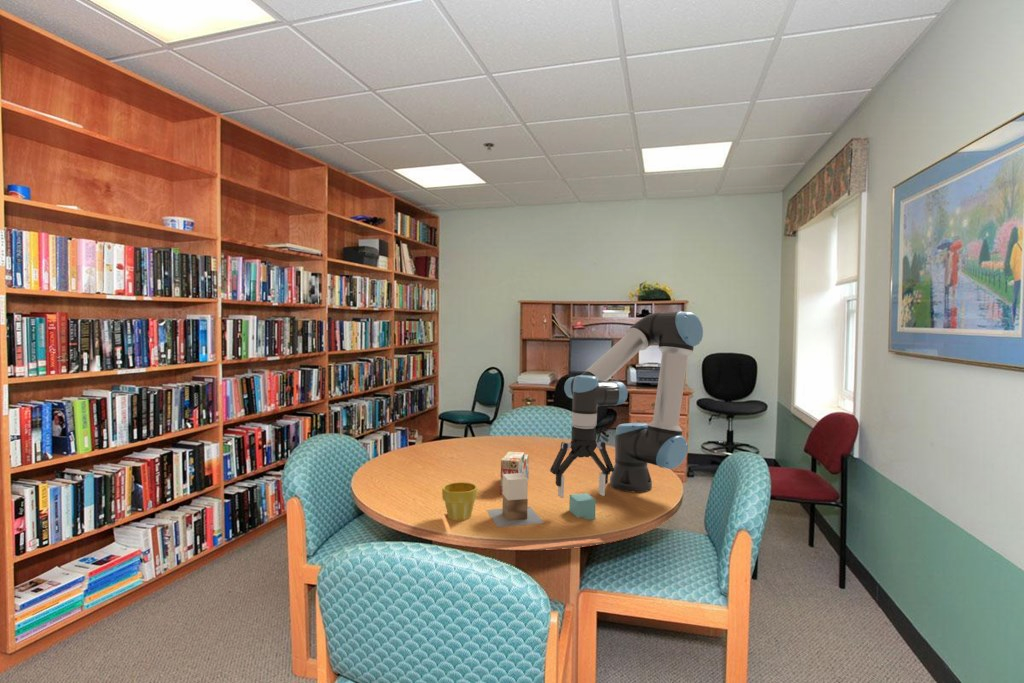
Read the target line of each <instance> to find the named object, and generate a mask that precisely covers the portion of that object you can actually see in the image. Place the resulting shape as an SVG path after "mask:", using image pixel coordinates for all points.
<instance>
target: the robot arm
mask: <svg viewBox="0 0 1024 683" xmlns="http://www.w3.org/2000/svg"><path fill="white" fill-rule="evenodd" d="M703 328H704V327H703V323H702V321H700V318H699V317H698V316H697V315H696V314H695V313H694V312H690V311H682V310H681V311H668V312H667V311H664V312H663V311H660V312H659V311H656V312H653V313H650V314H648V315H646V316H644V317H642V318H641V319H639V320H638V321H636V322H634V324H633V325H631V326H630V327H629V328H628V329H627V330H626V331H625V335H624V336H623V337H622V338H620V340H618V341H617V342H616V343H615V344H614V345H613V346H612V347H610V348H609V350H608V349H607V351H606V352H605V353H604V354H603V355H602V356H600V358H598V359H597V360H596V361H595V362H594V363H593V364H591V366H589V367H588V368H587V369H586V370H584V372H582V373H581V374H580V375H576V376H570V377H569V378H568V379H566V381H565V382H564V387H563V388H564V389H563V390H564V393H565V395H566V397H567V398H570V399H572V410H571V411H572V412H571V414H572V415H571V424H572V426H571V435H570V436H571V437H570V438H571V440H570V442H565V441H562V442H561V443H560V449H559V451H558V452H557V455H556V457H555V459H554V461H553V463H552V465H551V467H550V470H549V472H550V473H552V474H553V475H555V485H556V486H557V489H558V490H557V496H558V497H559V498H561V499H564V498H565V497H564V495H565V494H564V493H565V476H564V475H563V474H564V473H565V472H566V470H568V468H569V467H570V466H571V464H572V463H573V462H574V461H575V460H576V459H577V458H589V457H591V459H592V460H593V461H594V463H595V464H596V465H597V467H598V468H599V469H600V470H601V471H600V472H598V473H599V476H598V479H599V480H598V494H599V495H601V496H603V497H604V496H605V495H606V485H607V484H608V482H609V486H610V485H611V486H610V487H612V488H613V489H615V488H616V489H615V490H618V489H619V491H622V490H624V491H623V492H628V491H635V492H634V493H639V492H638V491H644V492H648V491H650V490H652V486H653V481H652V477H651V474H650V471H649V467H648V464H650V465H653V466H656V467H659V468H664V469H669V470H673V469H676V468H678V467H680V465H681V464H683V462H684V460H685V459H686V458H687V454H688V448H689V447H688V446H689V445H688V442H687V440H686V438H685V437H684V436H683V429H682V428H681V426H680V417H681V416H680V415H681V409H682V401H683V393H684V386H685V380H686V371H687V364H688V358H689V356H690V355H691V354H693V353H694V347H696V346H698V345H699V344H700V343H701V342H702V339H703V337H704V335H703V334H704V329H703ZM653 345H658V349H659V350H660V351H661V360H660V368H659V375H658V382H657V388H656V396H655V404H654V411H653V418H652V421H651V422H649V423H646V422H629V423H621V424H618V425H617V426H616V430H615V435H614V437H615V441H614V443H615V444H614V445H615V447H614V448H615V449H614V454H615V455H614V465H613V463H612V461H611V458H610V456H609V454H608V453H609V452H607V449H606V447H607V446H606V442H604V441H602V440H599V441H596V439H597V428H596V426H597V423H598V422H597V421H598V407H602V406H603V407H604V406H618V405H623V404H624V403H625V402H626V401H627V399H628V393H629V392H628V388H627V386H626V385H625V383H623V382H621V381H615V380H612V381H609V380H610V379H611V378H612V377H613V376H614V375H615V374H616V373H617V372H618V371H620V369H622V368H623V367H624V366H625V365H626V364H627V363H628V362H629V361H630V360H632V358H634V357H635V356H636V355H637V353H639V352H640V351H645V350H646V349H648V347H650V346H653ZM569 449H571V450H570V452H569V453H568V455H567V456H566V454H567V452H568V451H569ZM596 449H598V450H599V453H600V455H601V457H602V460H603V462H604V463H603V462H602V460H601V459H600V458H599V456H598V455H597V453H596V451H595V450H596ZM565 457H566V458H565ZM564 458H565V459H564ZM609 476H610V478H609ZM647 490H648V491H647Z"/></svg>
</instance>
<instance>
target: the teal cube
mask: <svg viewBox="0 0 1024 683" xmlns="http://www.w3.org/2000/svg"><path fill="white" fill-rule="evenodd" d="M596 501H597V500H596V498H594V497H593V496H591V495H590V494H589V493H588V492H585V493H575V494H573V493H572V494H569V502H568V503H569V504H568V505H569V508H568V510H569V511H568V512H570V513H571V514H572V515H574V517H575V518H584V519H585V520H587V521H589V519H590V520H595V519H596V512H597V511H596V510H597V509H596V506H597V505H596Z"/></svg>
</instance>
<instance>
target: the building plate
mask: <svg viewBox="0 0 1024 683" xmlns="http://www.w3.org/2000/svg"><path fill="white" fill-rule="evenodd" d="M486 512H487V513H488V515H489V516H490V518H491V519H492V521H493V523H494V524H495V525H496V527H497V528H508V527H516V526H517V527H518V526H527V525H528V526H529V525H538V524H539V525H540V524H545V521H544V520H542V518H541V517H540V516H539V515H538V514H537V512H536V511H534V509H533V508H532V507H531V506H528V508H527V519H523V520H511V521H507V519H506V518H505V516H504V515H503V514H502V508H494V509H486Z"/></svg>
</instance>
